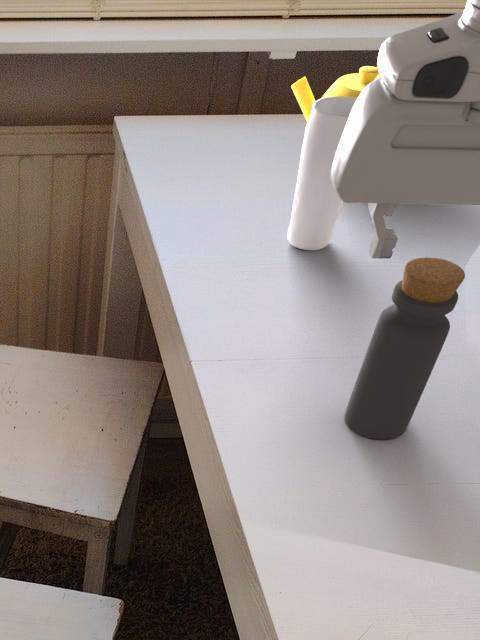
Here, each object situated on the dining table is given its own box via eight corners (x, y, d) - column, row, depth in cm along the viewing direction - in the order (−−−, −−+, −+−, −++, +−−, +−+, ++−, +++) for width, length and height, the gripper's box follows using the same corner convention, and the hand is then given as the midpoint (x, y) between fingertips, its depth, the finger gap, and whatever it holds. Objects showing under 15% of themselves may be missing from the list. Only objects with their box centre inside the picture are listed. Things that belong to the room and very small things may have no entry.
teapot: (254, 165, 117) (272, 75, 109) (302, 125, 126) (322, 38, 118) (393, 197, 110) (425, 102, 101) (434, 151, 119) (466, 61, 110)
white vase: (333, 258, 100) (374, 120, 88) (276, 251, 101) (309, 114, 90) (337, 233, 104) (377, 98, 92) (283, 227, 105) (315, 93, 94)
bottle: (405, 445, 77) (472, 292, 65) (340, 433, 78) (395, 281, 67) (408, 410, 80) (473, 258, 69) (346, 399, 82) (400, 248, 70)
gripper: (658, 43, 57) (557, 242, 68) (359, 40, 59) (306, 235, 69) (699, 74, 53) (585, 280, 64) (377, 70, 55) (318, 272, 66)
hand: (438, 257), depth 67 cm, fingers open, 8 cm apart
